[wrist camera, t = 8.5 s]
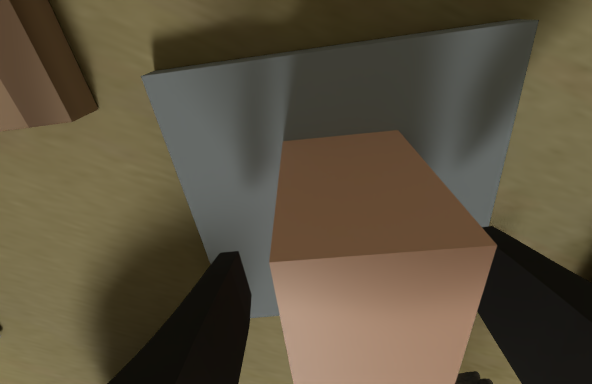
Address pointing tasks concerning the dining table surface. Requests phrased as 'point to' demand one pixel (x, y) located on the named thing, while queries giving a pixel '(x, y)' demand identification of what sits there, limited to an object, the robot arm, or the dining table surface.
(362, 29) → the dining table surface
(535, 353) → the robot arm
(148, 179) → the dining table surface
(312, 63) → the mat
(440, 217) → the terracotta block
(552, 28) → the dining table surface
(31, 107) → the brown wooden frame
